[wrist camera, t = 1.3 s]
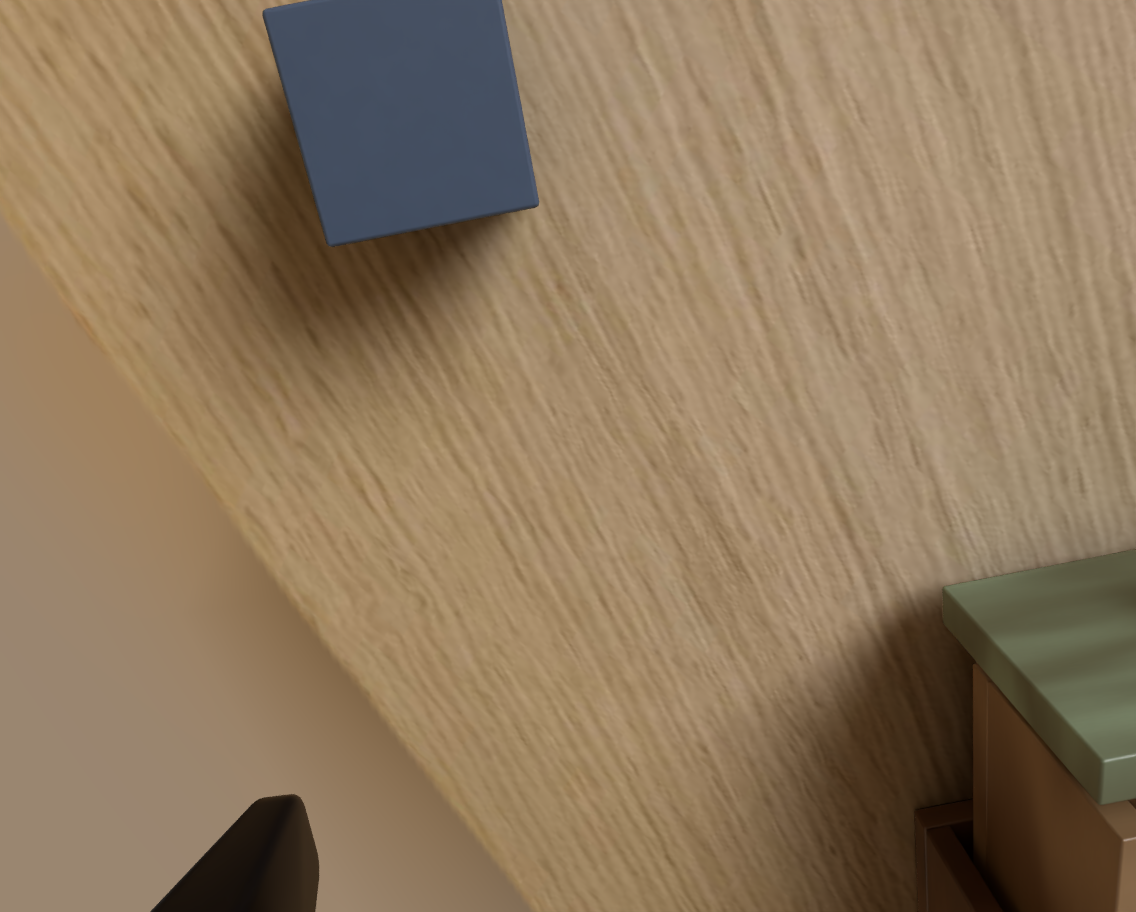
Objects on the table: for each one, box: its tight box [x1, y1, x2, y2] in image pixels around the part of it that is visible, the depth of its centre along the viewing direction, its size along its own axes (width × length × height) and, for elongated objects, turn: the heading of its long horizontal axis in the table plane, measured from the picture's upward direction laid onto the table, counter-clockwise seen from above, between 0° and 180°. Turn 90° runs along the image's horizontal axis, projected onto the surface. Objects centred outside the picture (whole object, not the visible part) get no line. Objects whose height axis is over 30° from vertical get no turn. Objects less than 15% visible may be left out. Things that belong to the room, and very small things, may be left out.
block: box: [262, 0, 539, 247], centre depth 17 cm, size 4×4×4 cm
